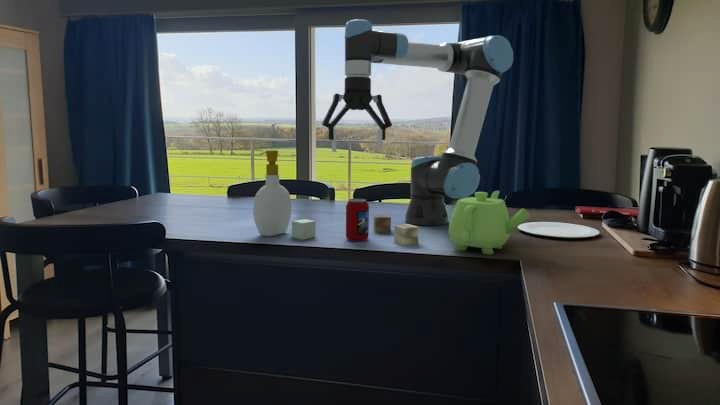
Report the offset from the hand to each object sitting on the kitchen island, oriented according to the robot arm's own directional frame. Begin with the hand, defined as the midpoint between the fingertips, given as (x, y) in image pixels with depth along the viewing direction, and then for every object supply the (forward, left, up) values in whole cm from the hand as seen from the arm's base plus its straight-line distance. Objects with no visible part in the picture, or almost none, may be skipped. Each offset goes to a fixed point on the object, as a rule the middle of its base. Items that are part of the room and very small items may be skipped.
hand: (357, 151), depth 156 cm
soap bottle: (+24, -13, -26) cm, 38 cm away
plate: (-66, +3, -27) cm, 72 cm away
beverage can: (0, 0, -26) cm, 26 cm away
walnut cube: (-11, -11, -26) cm, 31 cm away
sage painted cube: (+15, -7, -26) cm, 31 cm away
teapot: (-34, +19, -26) cm, 47 cm away
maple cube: (-13, +7, -26) cm, 30 cm away
